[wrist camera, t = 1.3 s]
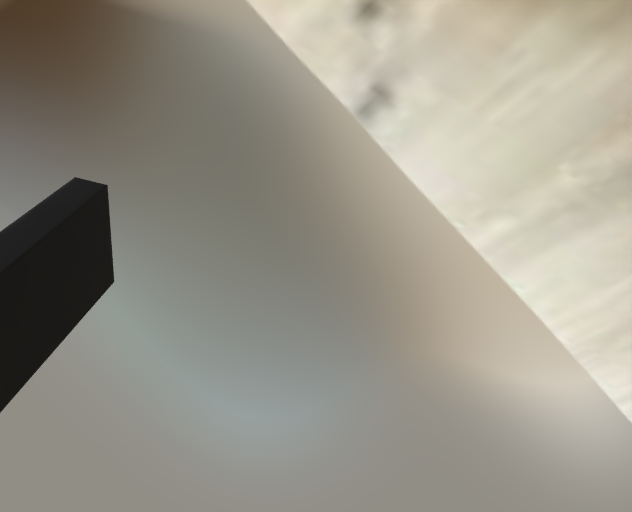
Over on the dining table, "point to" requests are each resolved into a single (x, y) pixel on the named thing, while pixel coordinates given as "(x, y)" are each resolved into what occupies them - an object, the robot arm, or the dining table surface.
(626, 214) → the dining table surface
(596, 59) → the dining table surface
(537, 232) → the dining table surface
